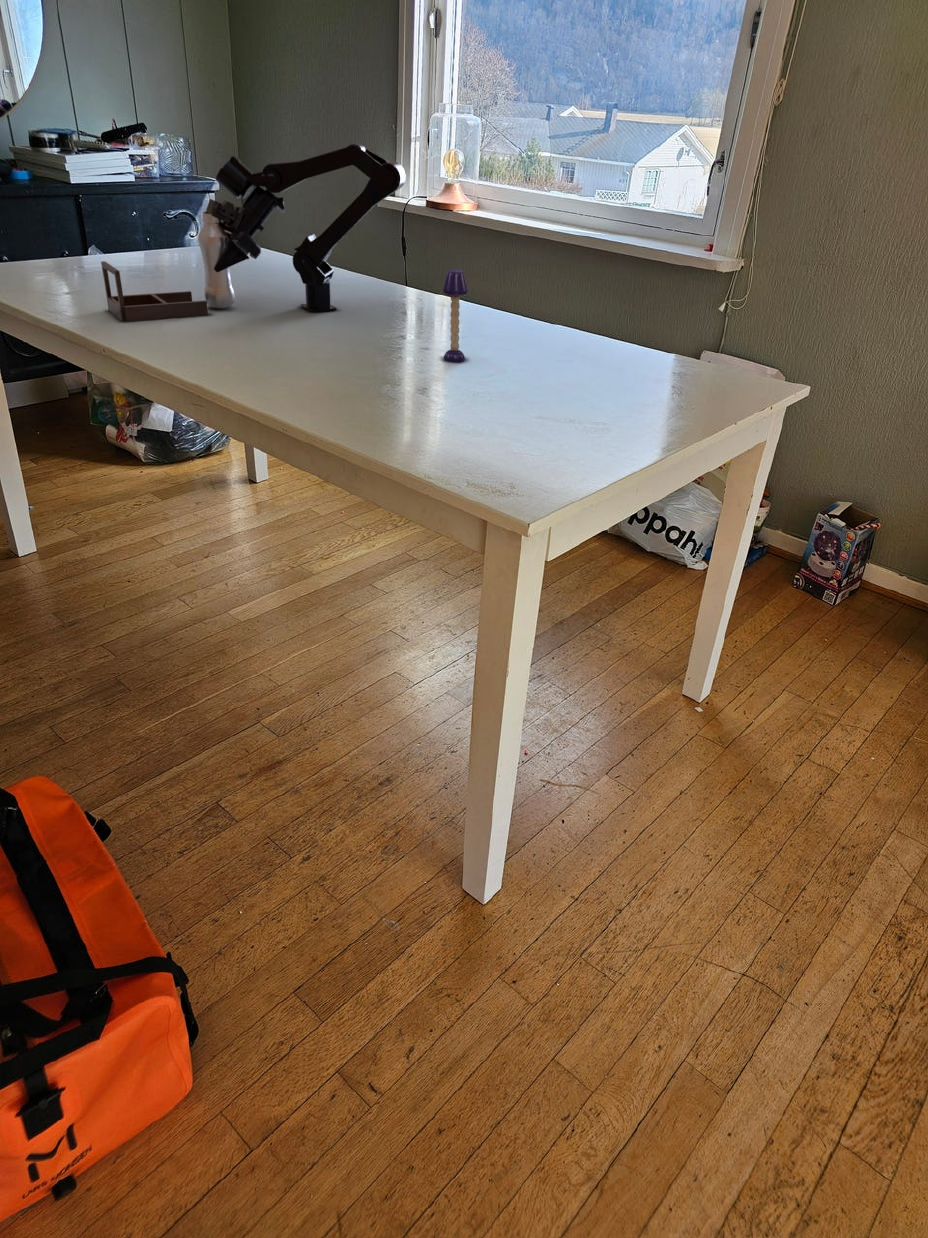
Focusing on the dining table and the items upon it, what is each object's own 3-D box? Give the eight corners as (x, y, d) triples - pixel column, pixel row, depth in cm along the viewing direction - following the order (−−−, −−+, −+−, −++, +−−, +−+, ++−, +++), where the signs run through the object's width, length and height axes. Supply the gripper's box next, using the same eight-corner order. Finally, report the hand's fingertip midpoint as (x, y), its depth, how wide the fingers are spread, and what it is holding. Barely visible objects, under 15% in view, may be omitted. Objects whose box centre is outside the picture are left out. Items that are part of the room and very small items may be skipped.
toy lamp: (443, 362, 168) (447, 272, 159) (438, 356, 172) (441, 268, 163) (467, 362, 169) (472, 272, 160) (461, 355, 173) (465, 268, 164)
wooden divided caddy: (208, 315, 190) (203, 266, 185) (122, 321, 181) (114, 270, 175) (191, 304, 198) (186, 257, 192) (108, 310, 188) (100, 261, 183)
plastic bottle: (231, 311, 194) (222, 215, 183) (202, 309, 194) (191, 213, 183) (239, 305, 199) (230, 211, 188) (210, 303, 199) (200, 209, 188)
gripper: (211, 180, 191) (168, 235, 192) (242, 190, 178) (196, 248, 179) (247, 217, 199) (206, 270, 200) (280, 229, 186) (236, 286, 187)
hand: (210, 268), depth 191 cm, fingers closed on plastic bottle, 6 cm apart
